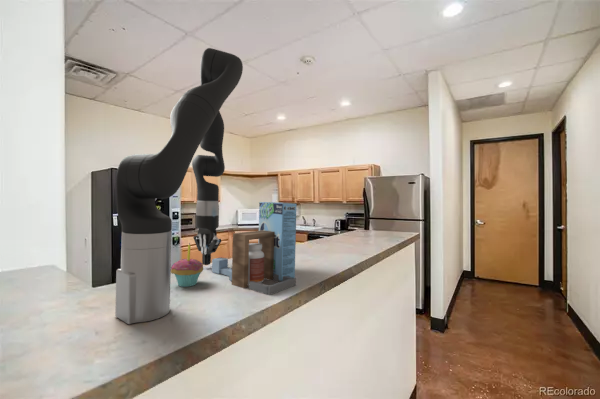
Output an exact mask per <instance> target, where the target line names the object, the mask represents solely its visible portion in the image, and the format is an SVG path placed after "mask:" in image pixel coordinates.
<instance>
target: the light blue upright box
mask: <svg viewBox="0 0 600 399" xmlns="http://www.w3.org/2000/svg"><path fill="white" fill-rule="evenodd" d="M258 203H259V206H258V231H261V230H264V231H273V232H274V267H273V277H274V274H277V275H279V277H278V279H279V280H280V281H283V276H288V277H292V278H296V277H295V276H296V246H297V245H296V244H297V242H296V241H297V239H296V238H297V237H296V236H297V203H294V202H293V203H291V202H277V201H275V202H272V201H259V202H258ZM257 240H258V242H257V243H259V239H257Z"/></svg>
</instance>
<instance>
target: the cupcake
mask: <svg viewBox="0 0 600 399" xmlns="http://www.w3.org/2000/svg"><path fill="white" fill-rule="evenodd" d="M203 271H204V265H203V264H202V261H199V260H198V259H193V258H191V242H189V243H188V245H187V257H186V258H182V259H179V260H177V261H175V262H174V263H173V264H172V265H171V274H173V275H174V277H175V278H176V282H177V285H178V286H179V287H183V288H184V287H192V286H195V285H197V283H198V280H199V277H200V275H201V274H202V272H203Z"/></svg>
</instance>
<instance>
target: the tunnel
mask: <svg viewBox="0 0 600 399" xmlns="http://www.w3.org/2000/svg"><path fill="white" fill-rule="evenodd" d="M258 239H259V243H260V244H262V249H261V251H262V252H263V253H264V280H268V281H273V280H274V276H273V267H274V232H273V231H264V230H261V231H259V230H254V231H253V230H252V231H244V232H235V233H232V252H231V253H232V255H231V256H232V259H231V260H232V262H231V268H232V281H231V286H236V287H237V288H243V289H246V288H249V284H248V263H249V243H250V241H252V240H258Z"/></svg>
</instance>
